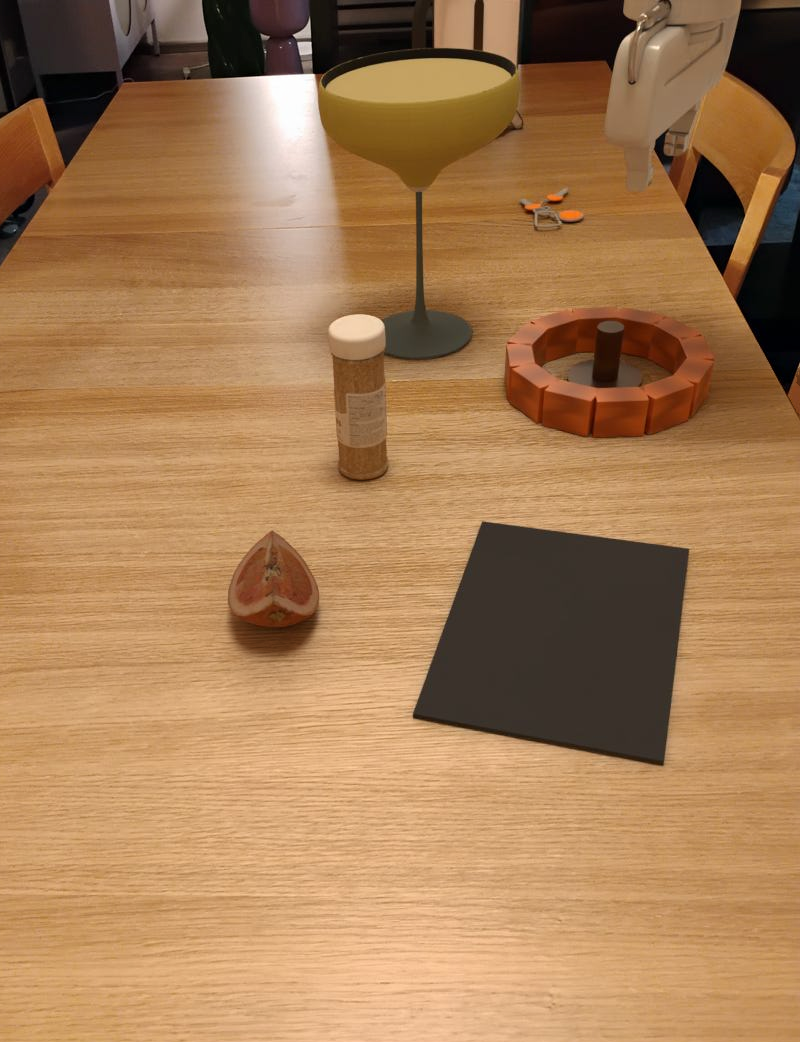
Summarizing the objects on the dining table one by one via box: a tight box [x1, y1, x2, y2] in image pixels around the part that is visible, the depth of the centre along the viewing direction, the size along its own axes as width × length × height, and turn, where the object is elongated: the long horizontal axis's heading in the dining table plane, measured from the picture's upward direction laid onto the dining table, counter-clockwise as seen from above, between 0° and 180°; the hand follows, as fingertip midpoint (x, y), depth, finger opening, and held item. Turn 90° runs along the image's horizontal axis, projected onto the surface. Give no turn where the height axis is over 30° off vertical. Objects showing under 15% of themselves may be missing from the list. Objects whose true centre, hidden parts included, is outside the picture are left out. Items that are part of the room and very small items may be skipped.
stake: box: [565, 321, 644, 388], centre depth 96 cm, size 7×7×6 cm
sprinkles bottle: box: [327, 313, 390, 481], centre depth 86 cm, size 5×5×13 cm
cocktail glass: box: [317, 47, 521, 360], centre depth 100 cm, size 18×18×25 cm
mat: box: [412, 521, 690, 766], centre depth 73 cm, size 22×16×1 cm
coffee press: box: [411, 0, 525, 130], centre depth 146 cm, size 17×16×30 cm
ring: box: [504, 306, 716, 438], centre depth 97 cm, size 18×18×4 cm
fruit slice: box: [227, 530, 320, 628], centre depth 75 cm, size 8×7×5 cm
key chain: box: [518, 187, 585, 229], centre depth 130 cm, size 13×7×1 cm, turn 179°
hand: (657, 170), depth 90 cm, fingers open, 8 cm apart
